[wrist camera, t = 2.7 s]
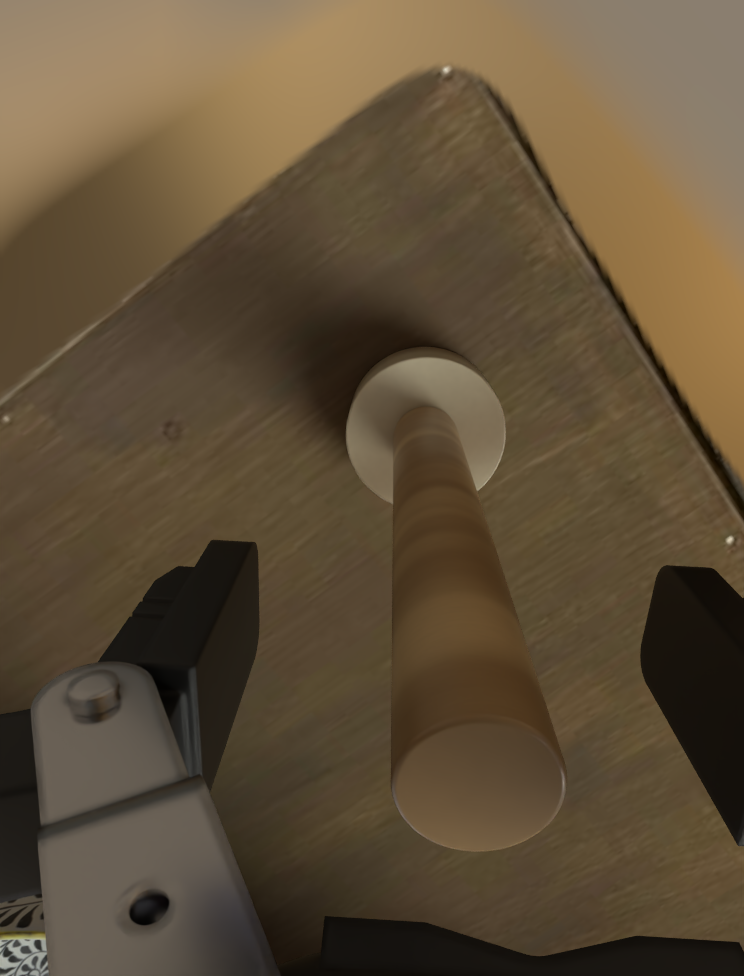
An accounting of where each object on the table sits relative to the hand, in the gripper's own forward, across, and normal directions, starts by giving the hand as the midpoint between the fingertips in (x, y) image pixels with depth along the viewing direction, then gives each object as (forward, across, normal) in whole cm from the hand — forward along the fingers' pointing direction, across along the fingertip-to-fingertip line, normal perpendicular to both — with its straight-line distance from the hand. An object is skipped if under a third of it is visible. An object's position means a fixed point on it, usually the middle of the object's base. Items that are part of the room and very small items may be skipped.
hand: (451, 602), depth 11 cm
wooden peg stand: (+12, 0, 0) cm, 12 cm away
